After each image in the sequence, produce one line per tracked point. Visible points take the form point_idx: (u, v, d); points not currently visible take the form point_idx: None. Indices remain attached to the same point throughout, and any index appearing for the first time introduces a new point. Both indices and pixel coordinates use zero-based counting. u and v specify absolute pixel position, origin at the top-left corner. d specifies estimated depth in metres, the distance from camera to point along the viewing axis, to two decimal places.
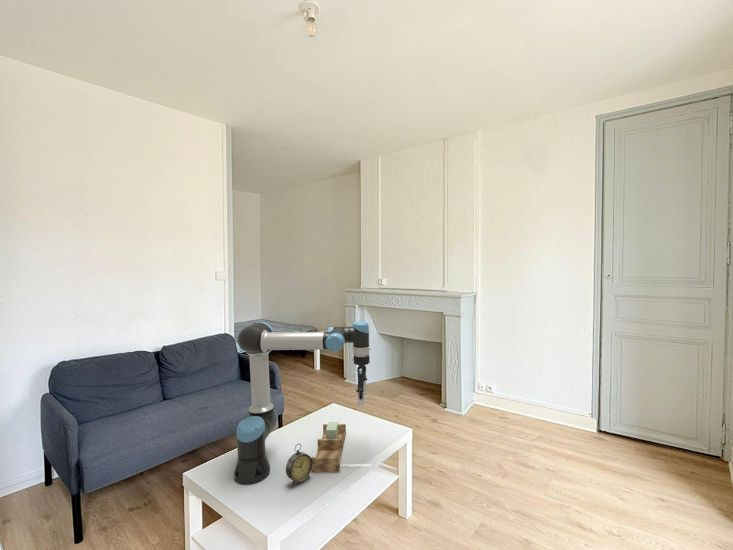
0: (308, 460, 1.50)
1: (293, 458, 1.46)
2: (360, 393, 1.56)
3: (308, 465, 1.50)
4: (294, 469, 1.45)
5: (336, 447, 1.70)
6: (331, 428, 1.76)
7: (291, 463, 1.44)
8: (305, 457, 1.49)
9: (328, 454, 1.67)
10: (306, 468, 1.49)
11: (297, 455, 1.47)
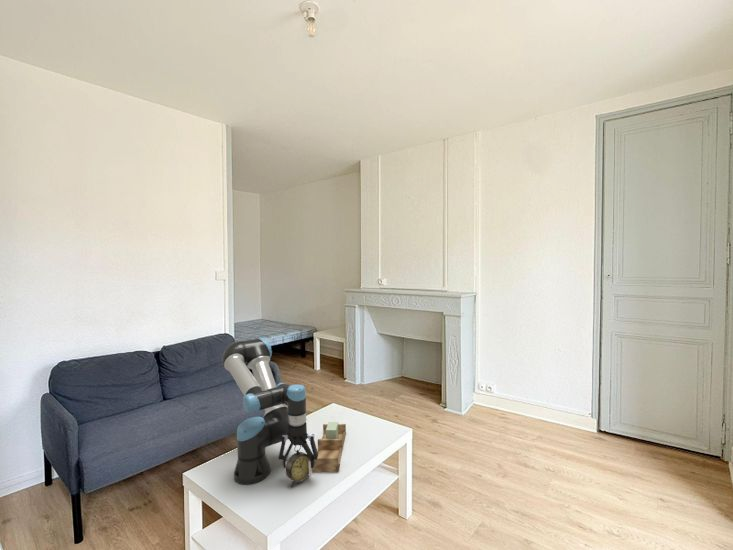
0: (308, 460, 1.50)
1: (293, 458, 1.46)
2: None
3: (308, 465, 1.50)
4: (294, 469, 1.45)
5: (336, 447, 1.70)
6: (331, 428, 1.76)
7: (291, 463, 1.44)
8: (305, 457, 1.49)
9: (328, 454, 1.67)
10: (306, 467, 1.49)
11: (297, 455, 1.47)
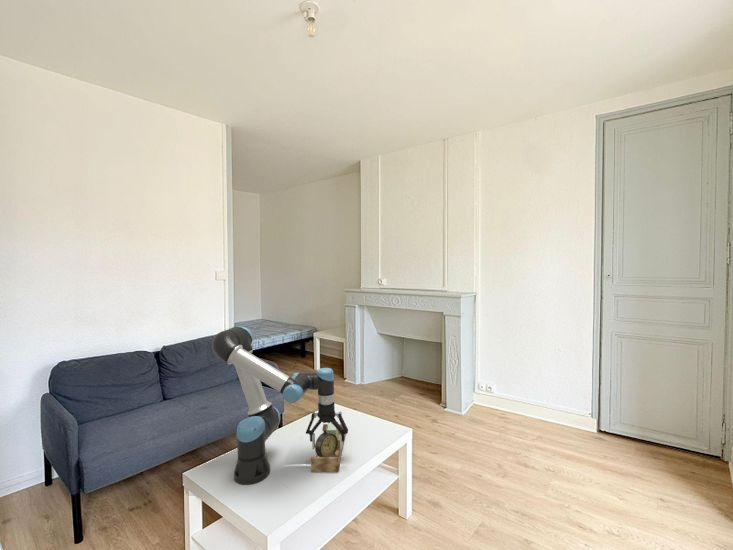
0: (334, 439, 1.65)
1: (322, 437, 1.60)
2: None
3: (334, 444, 1.65)
4: (323, 447, 1.59)
5: None
6: (331, 428, 1.76)
7: (320, 442, 1.59)
8: (331, 436, 1.64)
9: None
10: (332, 446, 1.64)
11: (325, 435, 1.61)
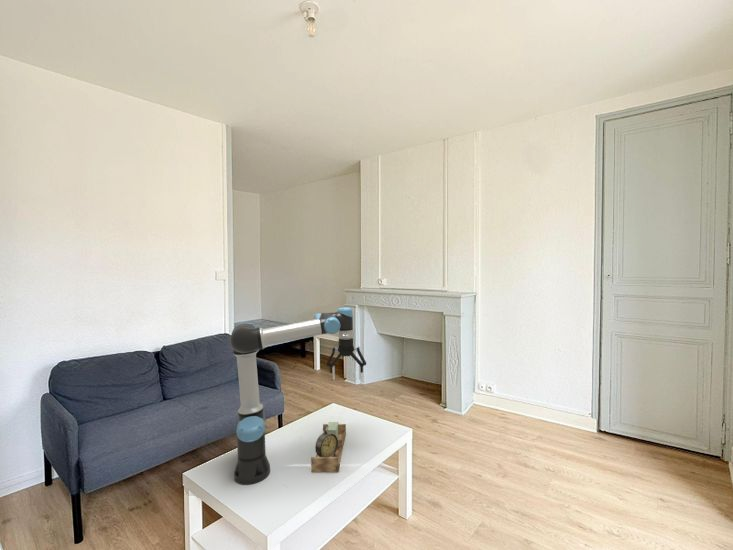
0: (334, 439, 1.65)
1: (322, 437, 1.60)
2: None
3: (334, 444, 1.65)
4: (323, 447, 1.59)
5: None
6: (331, 428, 1.76)
7: (320, 442, 1.59)
8: (332, 436, 1.64)
9: None
10: (332, 446, 1.64)
11: (325, 435, 1.61)
